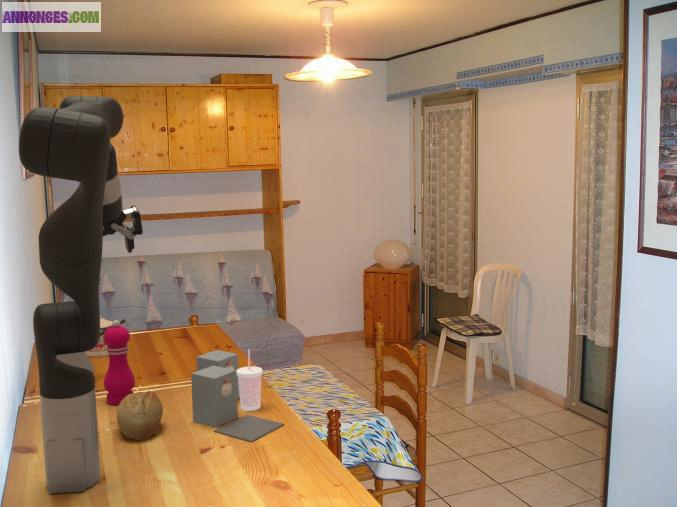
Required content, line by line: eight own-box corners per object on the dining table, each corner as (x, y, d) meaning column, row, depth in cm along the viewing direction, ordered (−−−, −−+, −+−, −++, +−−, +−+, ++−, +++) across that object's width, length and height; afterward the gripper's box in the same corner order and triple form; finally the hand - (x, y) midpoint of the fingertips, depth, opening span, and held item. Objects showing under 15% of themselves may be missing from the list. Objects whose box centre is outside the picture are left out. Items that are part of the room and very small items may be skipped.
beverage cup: (234, 404, 165) (233, 347, 163) (260, 401, 167) (258, 344, 165) (240, 413, 160) (238, 354, 158) (266, 409, 162) (265, 351, 160)
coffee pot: (55, 393, 175) (51, 335, 173) (43, 381, 184) (39, 326, 182) (138, 377, 187) (135, 322, 185) (123, 366, 196) (120, 314, 194)
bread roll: (160, 414, 160) (159, 381, 159) (166, 439, 146) (165, 402, 144) (116, 420, 157) (114, 386, 155) (118, 445, 143) (116, 408, 141)
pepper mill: (126, 406, 165) (122, 324, 162) (98, 404, 166) (94, 323, 163) (141, 396, 172) (137, 317, 169) (114, 394, 173) (110, 316, 170)
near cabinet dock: (284, 425, 152) (283, 376, 151) (251, 442, 143) (249, 390, 142) (221, 408, 163) (219, 363, 161) (186, 423, 154) (184, 375, 152)
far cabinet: (241, 398, 170) (239, 354, 168) (221, 406, 164) (219, 361, 162) (218, 392, 174) (216, 350, 172) (198, 400, 168) (196, 356, 166)
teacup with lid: (86, 359, 204) (83, 320, 202) (82, 351, 212) (79, 314, 210) (128, 353, 209) (126, 315, 208) (122, 346, 217) (120, 310, 216)
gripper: (67, 211, 128) (78, 276, 138) (143, 194, 134) (148, 257, 145) (57, 189, 132) (68, 253, 143) (131, 173, 139) (136, 236, 149)
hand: (108, 255), depth 144 cm, fingers open, 8 cm apart
